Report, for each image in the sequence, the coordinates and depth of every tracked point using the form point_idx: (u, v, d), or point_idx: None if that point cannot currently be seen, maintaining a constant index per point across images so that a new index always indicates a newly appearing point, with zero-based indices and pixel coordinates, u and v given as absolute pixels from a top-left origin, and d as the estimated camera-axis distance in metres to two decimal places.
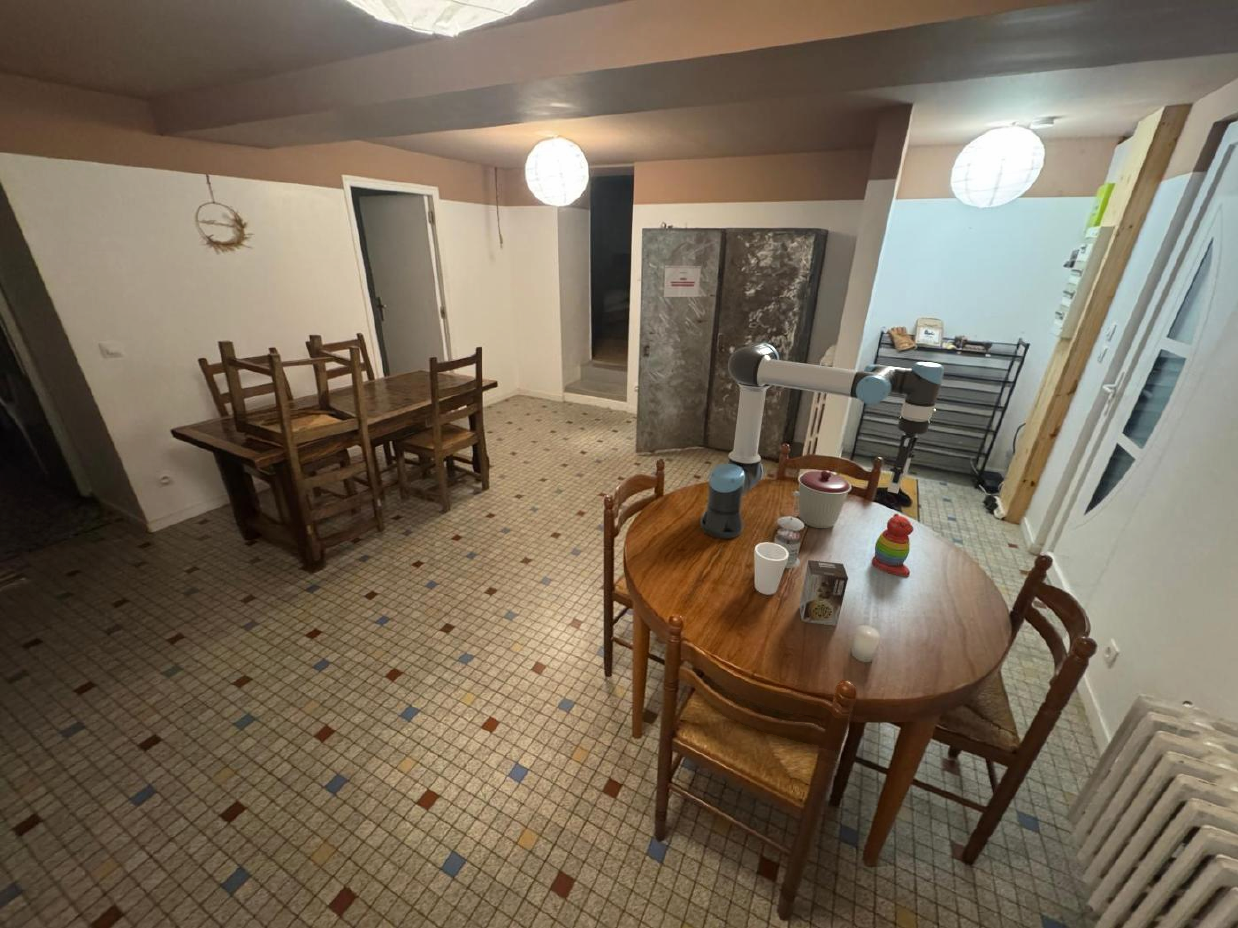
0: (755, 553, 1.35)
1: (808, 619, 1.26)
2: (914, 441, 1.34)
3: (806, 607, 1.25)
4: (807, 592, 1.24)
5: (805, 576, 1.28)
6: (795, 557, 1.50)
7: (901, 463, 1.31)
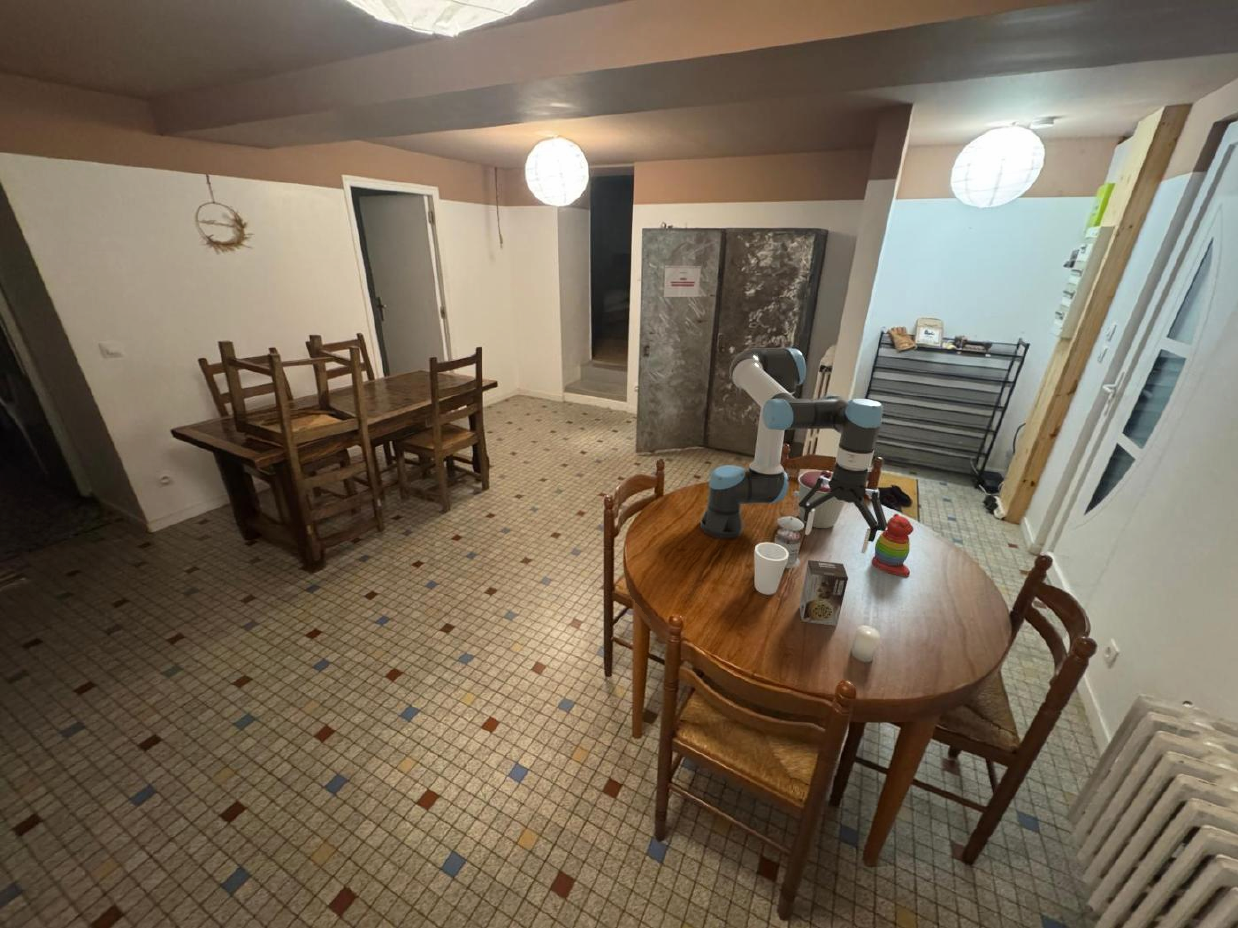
0: (755, 553, 1.35)
1: (808, 619, 1.26)
2: (836, 488, 1.13)
3: (806, 607, 1.25)
4: (807, 592, 1.24)
5: (805, 576, 1.28)
6: (795, 557, 1.50)
7: None
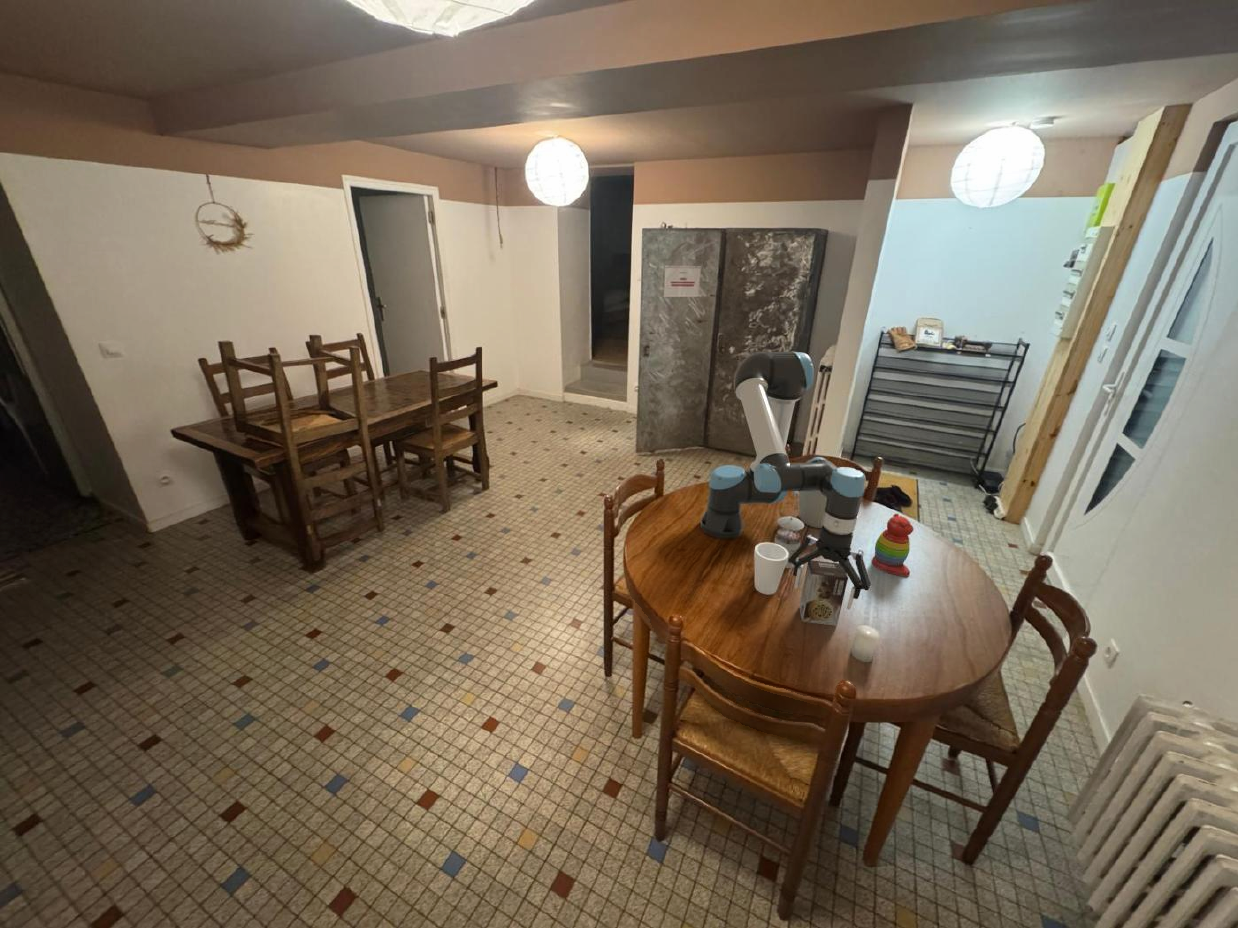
0: (755, 553, 1.35)
1: (808, 619, 1.26)
2: (823, 549, 1.20)
3: (806, 607, 1.25)
4: (807, 592, 1.24)
5: (805, 576, 1.28)
6: None
7: (794, 553, 1.27)
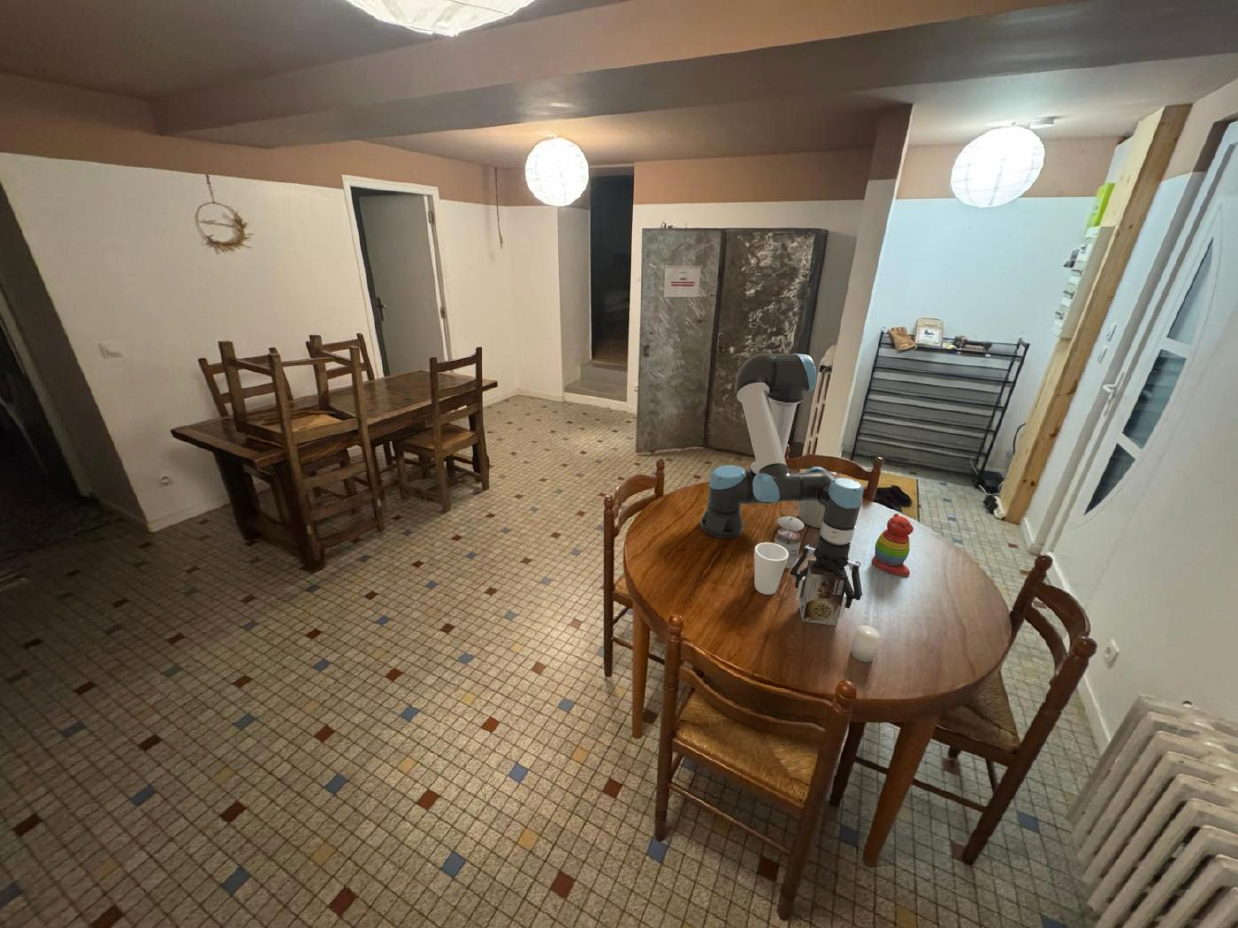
0: (755, 553, 1.35)
1: (808, 619, 1.26)
2: (820, 558, 1.21)
3: (806, 607, 1.25)
4: (807, 592, 1.24)
5: (805, 576, 1.28)
6: (795, 557, 1.50)
7: None
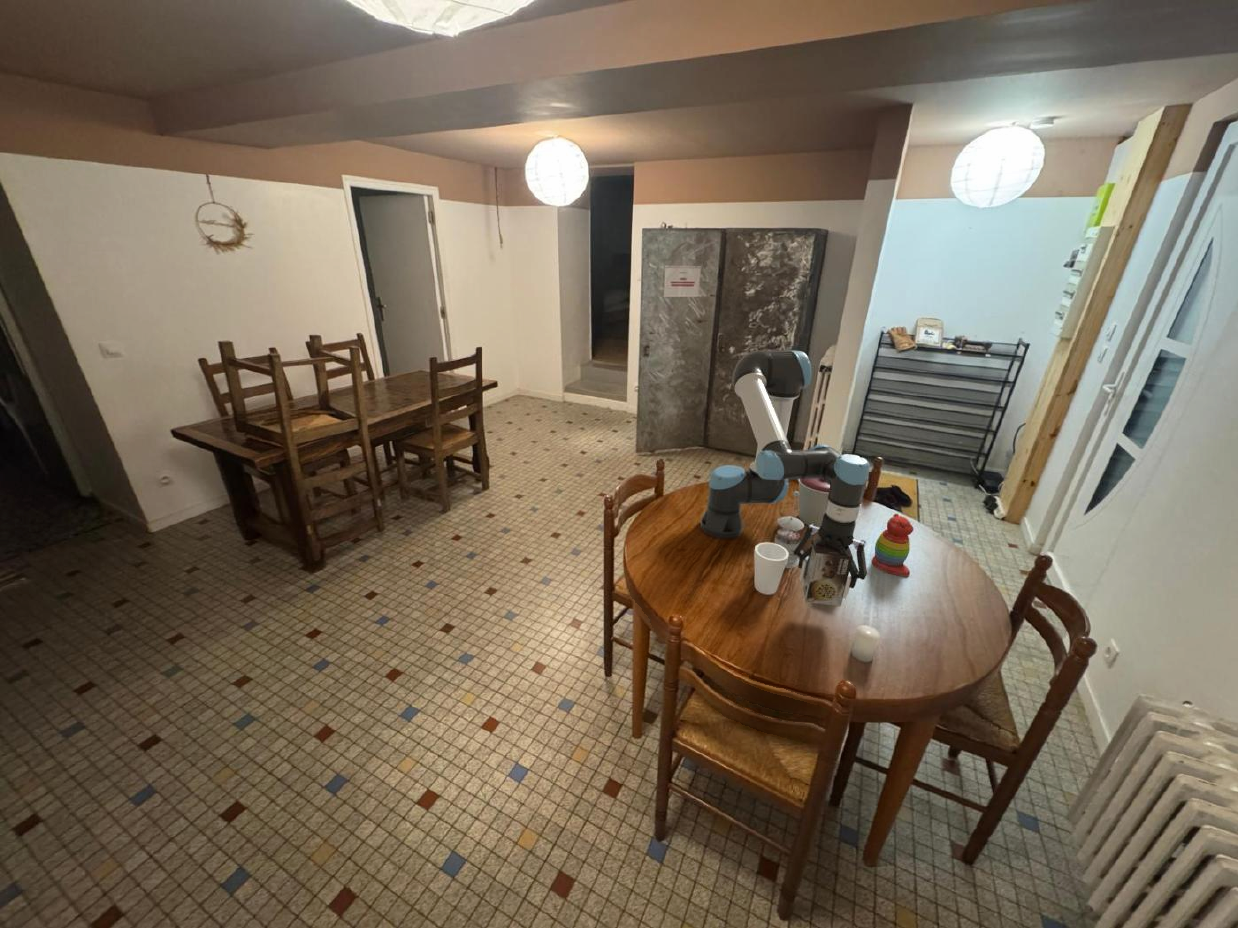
0: (755, 553, 1.35)
1: (811, 599, 1.24)
2: (825, 537, 1.19)
3: (809, 587, 1.23)
4: (811, 572, 1.22)
5: (809, 556, 1.25)
6: (795, 557, 1.50)
7: None
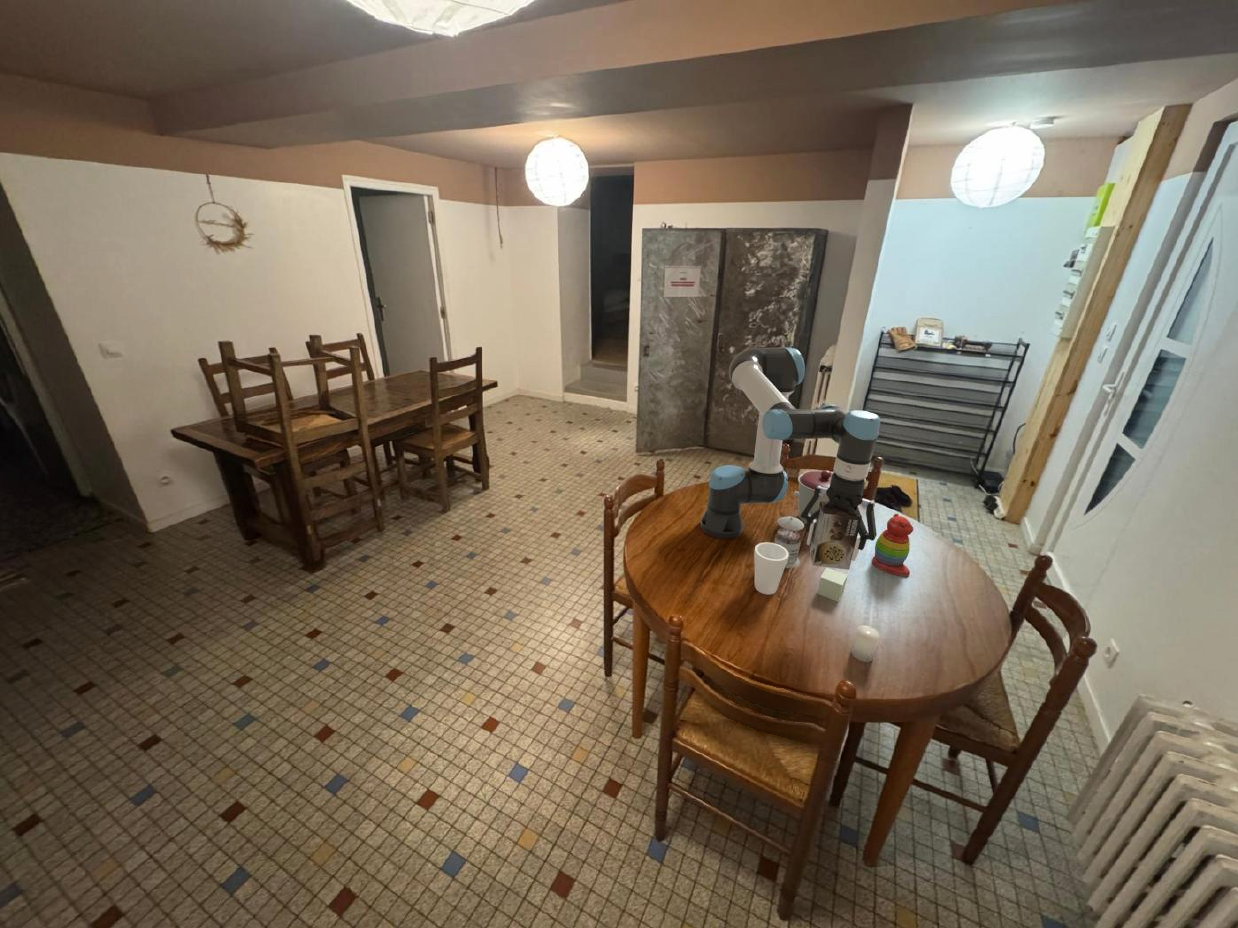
0: (755, 553, 1.35)
1: (819, 563, 1.21)
2: (833, 497, 1.16)
3: (817, 550, 1.20)
4: (818, 534, 1.19)
5: (816, 519, 1.23)
6: (795, 557, 1.50)
7: None
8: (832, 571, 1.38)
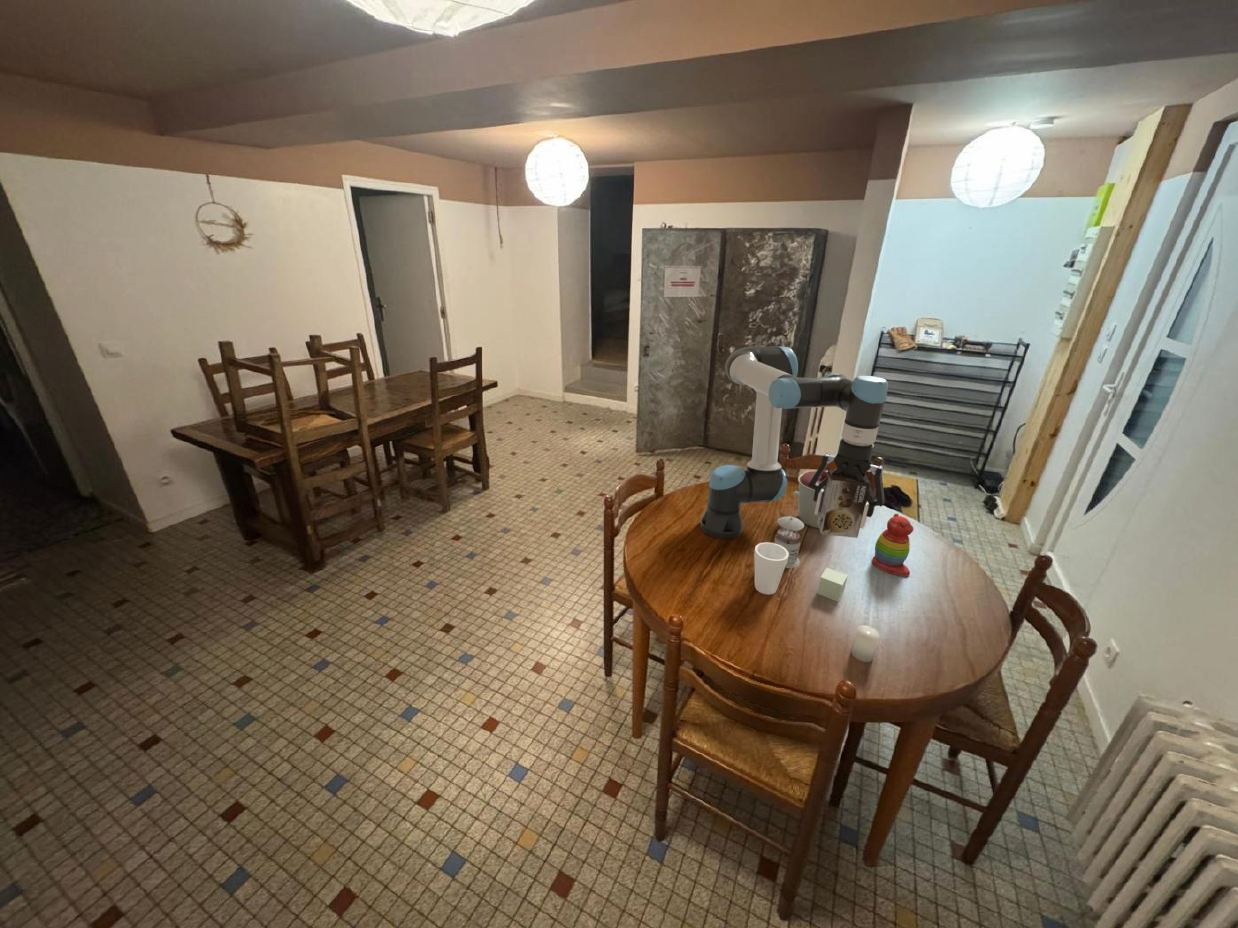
0: (755, 553, 1.35)
1: (827, 531, 1.22)
2: (841, 464, 1.17)
3: (825, 518, 1.20)
4: (827, 502, 1.19)
5: (824, 488, 1.23)
6: (795, 557, 1.50)
7: None
8: (832, 571, 1.38)
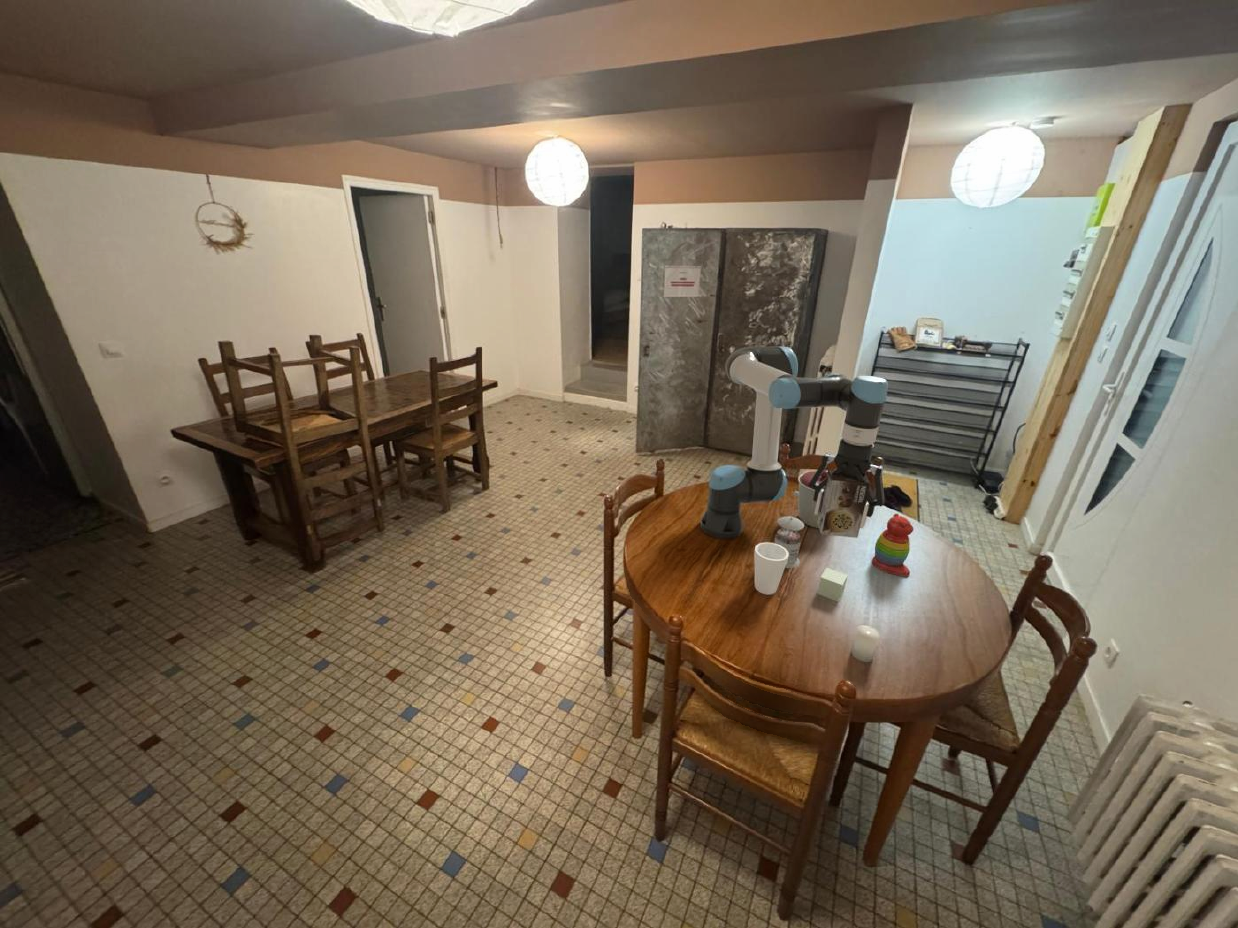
0: (755, 553, 1.35)
1: (827, 531, 1.22)
2: (841, 464, 1.17)
3: (825, 518, 1.20)
4: (827, 502, 1.19)
5: (824, 488, 1.23)
6: (795, 557, 1.50)
7: None
8: (832, 571, 1.38)
